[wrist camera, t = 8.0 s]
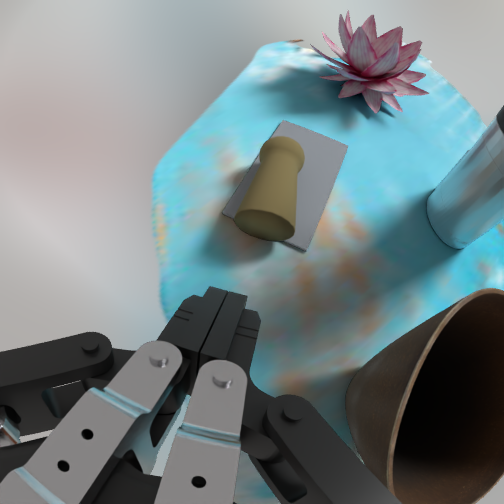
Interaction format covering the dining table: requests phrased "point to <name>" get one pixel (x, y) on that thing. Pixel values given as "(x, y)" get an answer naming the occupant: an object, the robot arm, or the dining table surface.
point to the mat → (303, 180)
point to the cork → (273, 192)
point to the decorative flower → (374, 64)
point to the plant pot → (436, 406)
